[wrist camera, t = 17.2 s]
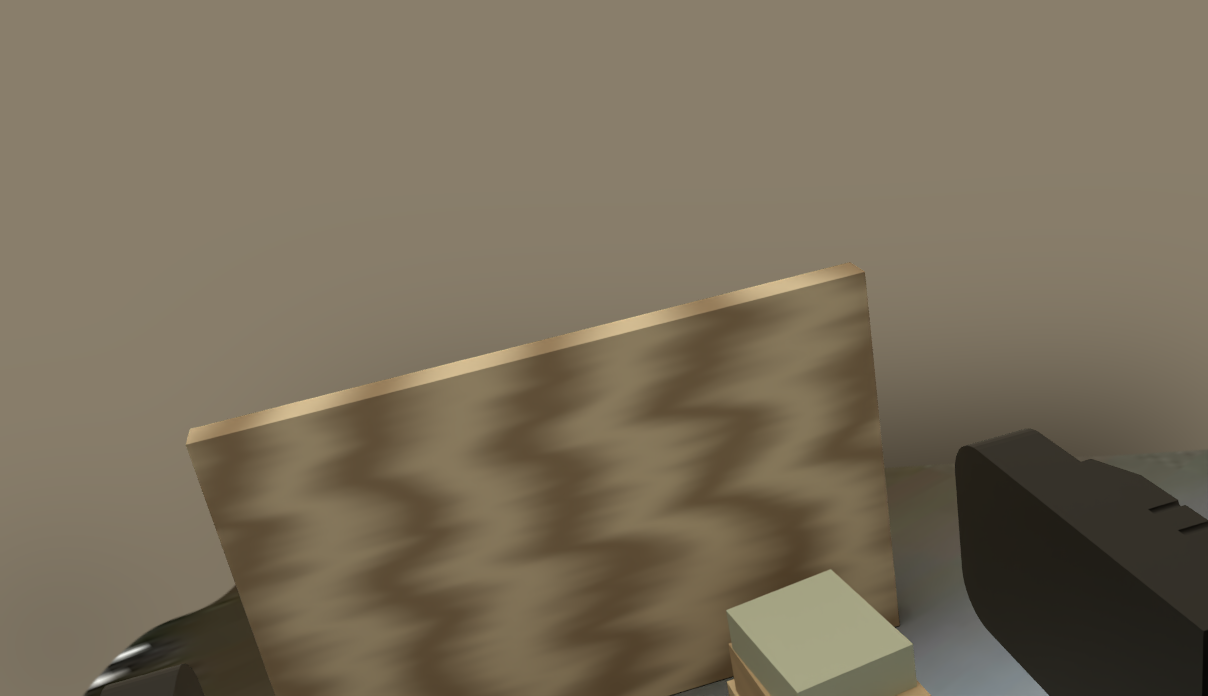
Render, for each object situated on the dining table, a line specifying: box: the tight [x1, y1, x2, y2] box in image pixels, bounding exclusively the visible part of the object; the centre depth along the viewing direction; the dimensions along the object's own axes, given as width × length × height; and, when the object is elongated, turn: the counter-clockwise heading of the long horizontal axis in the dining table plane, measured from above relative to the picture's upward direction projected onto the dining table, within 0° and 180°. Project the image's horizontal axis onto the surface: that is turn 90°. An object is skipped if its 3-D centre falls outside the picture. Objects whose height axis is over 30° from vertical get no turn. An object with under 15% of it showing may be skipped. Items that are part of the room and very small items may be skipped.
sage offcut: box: [726, 569, 917, 696], centre depth 46 cm, size 5×6×2 cm
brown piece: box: [186, 262, 900, 696], centre depth 53 cm, size 28×8×18 cm, turn 103°
